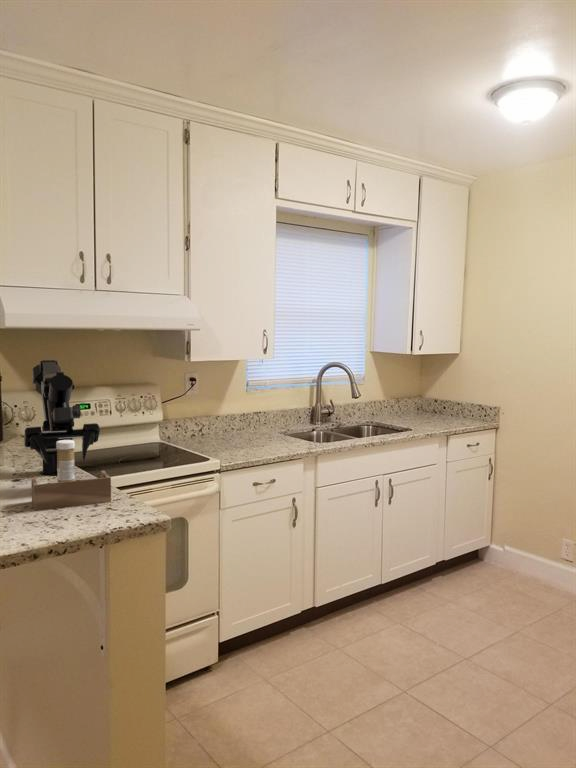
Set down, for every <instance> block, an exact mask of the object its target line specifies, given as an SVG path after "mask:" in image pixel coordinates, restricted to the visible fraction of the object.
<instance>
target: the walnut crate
mask: <svg viewBox="0 0 576 768" xmlns="http://www.w3.org/2000/svg"><path fill="white" fill-rule="evenodd" d="M100 473H101V474H100V478H99V477H98V478H89V479H79V480H75V481H67V482H58V481H57V482H49V483H38V482H37V479H36V477H31V478H30V479H31V480H30V482H31V483H30V484H31V486H30V487H31V502H32V506H33V509H34V511H42V510H43V511H44V510H49V509H50V510H51V509H60V508H68V507H76V506H85V505H91V504H92V505H93V504H100V503H101V504H102V503H108V502H112V480H111V479H112V478H111V476H110V475H109V474H108V473H107V472H106V471H105V470H101V471H100Z"/></svg>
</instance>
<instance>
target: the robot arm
mask: <svg viewBox="0 0 576 768" xmlns="http://www.w3.org/2000/svg"><path fill="white" fill-rule="evenodd" d="M61 369H62V368H61V366H59V365H58V360H55V359H42V360H39V364H37V365H35V366H34V367H33V368H32V373H31V383H32V385H34V389H35V391H36V392H37V393H38V394H40V395H41V400H42V403H41V404H42V409H43V415H44V416H43V417H44V421H43V422H42V426H27V427H26V428H24V435H23V436H24V437H23V438H24V439H23V440H24V441H23V443H24V447H26V448H30V450H34V451H35V452H37V453H38V455H39V456H40V457H41V458H42V470H40V471H39V474H41V475H50V476H57V449H56V442H57V441H60V440H73V438H74V439H75V438H82V439H81V440H82V441H81V442H82V443H81V446H82V447H81V448H82V449H81V453H82V454H81V455H82V460H83V461H86V456H87V452H88V449H89V447H90V446H92V445H94V444H95V443H97V442H98V441H99V436H100V432H101V428H100V425H99V424H98V423H96V422H94V423H83V424H82V425H83V426H82V428H81V429H74V427H75V419H81V416H82V411H81V406H80V404H77V405H72V406H71V405H70V401H71V399H72V398H71V397H72V392H73V390H75V384H73V380H72V378H71V377H69V376H68V375H65V374H64V373H65V372H64V371H62V370H61ZM73 441H74V440H73Z"/></svg>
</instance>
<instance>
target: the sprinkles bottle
mask: <svg viewBox="0 0 576 768" xmlns="http://www.w3.org/2000/svg"><path fill="white" fill-rule="evenodd" d="M75 446H76V445H75V440H60V441H57V442H56V449H57V475H56V476H57V478H56V479H57V482H67V481H76V480H75V478H76V468H75V467H76V466H75V465H76V463H75V461H76V459H75V449H76V447H75Z"/></svg>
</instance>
